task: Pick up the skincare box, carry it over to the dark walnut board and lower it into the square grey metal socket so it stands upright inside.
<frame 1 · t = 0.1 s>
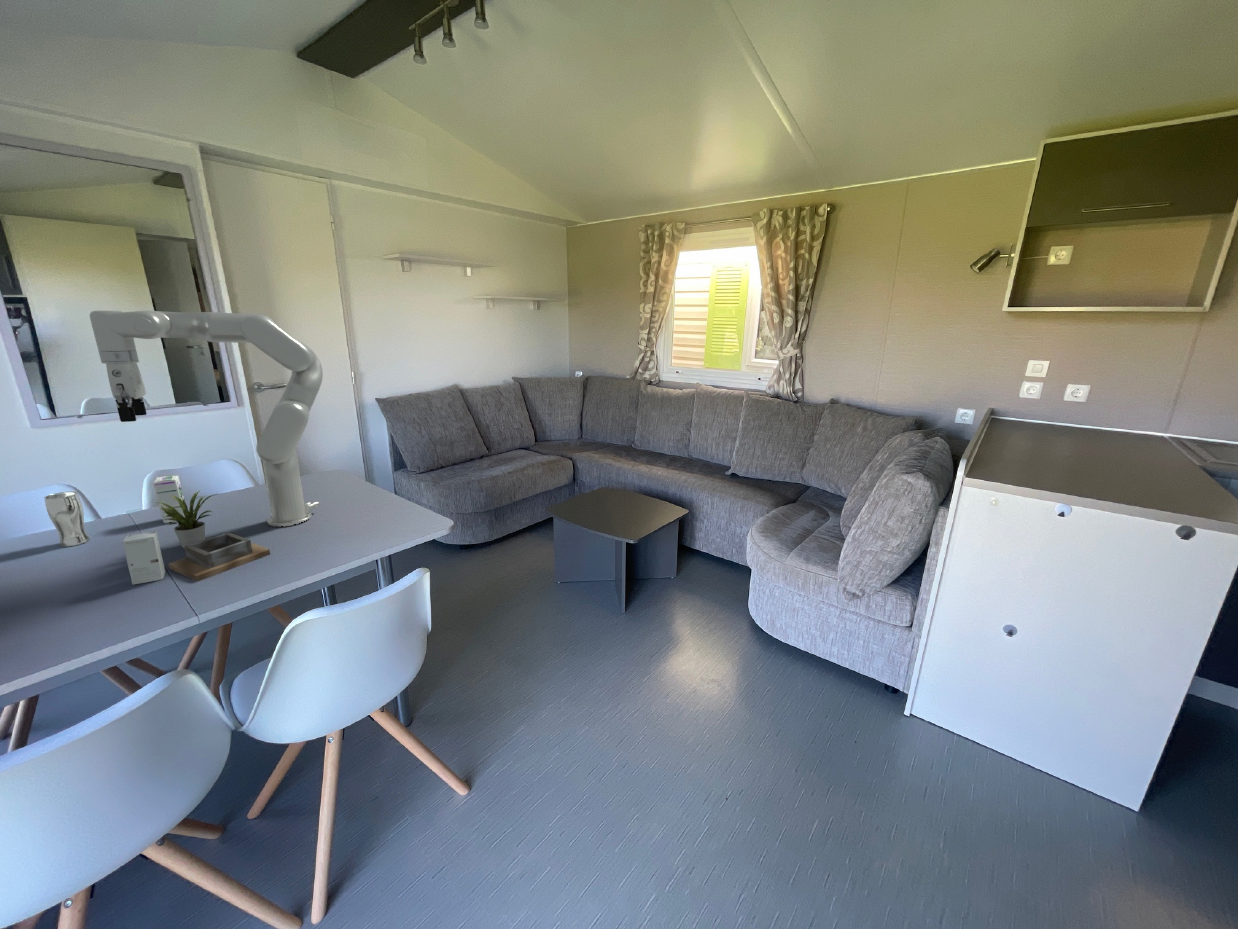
hand: (134, 418, 143), 37 cm above the table, tool pointing down, fingers open, 9 cm apart
house plant: (199, 544, 150), on the table
socket: (221, 561, 140), on the table
skincare box: (150, 579, 130), on the table
syrup box: (176, 519, 167), on the table
beer glass: (75, 543, 148), on the table
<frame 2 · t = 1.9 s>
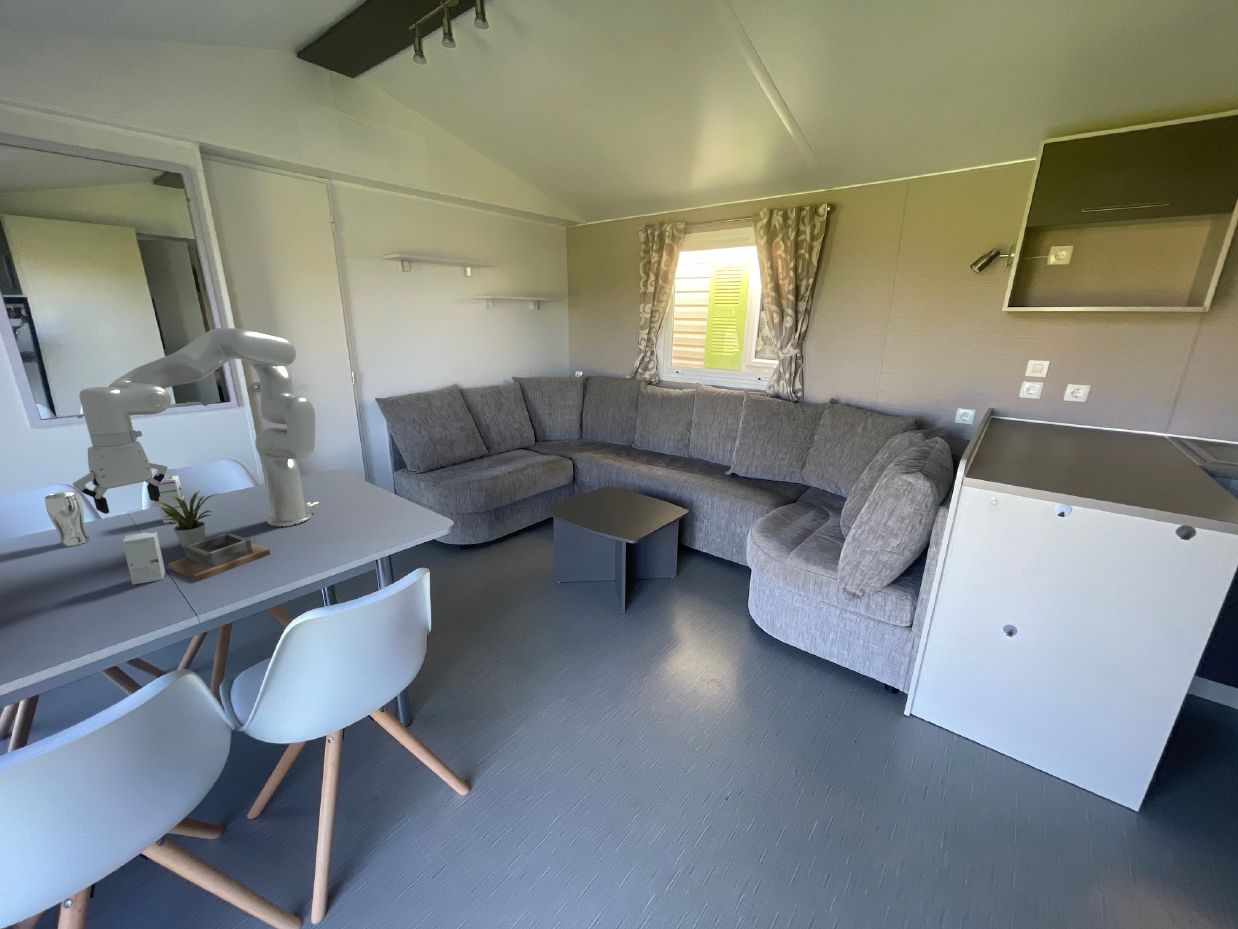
hand: (130, 506, 124), 20 cm above the table, tool pointing down, fingers open, 9 cm apart
nothing on the table moved.
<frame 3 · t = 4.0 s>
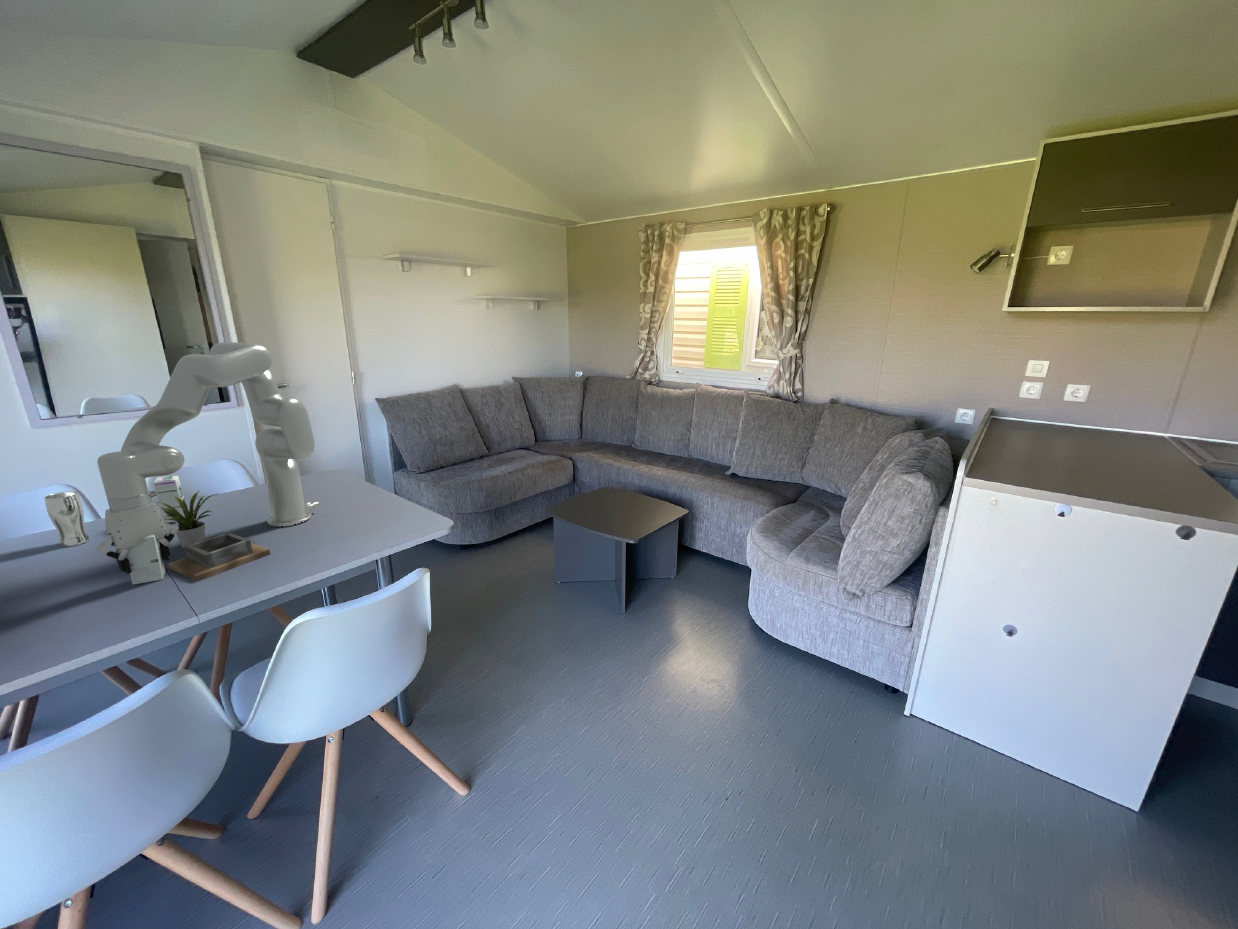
hand: (146, 565, 129), 4 cm above the table, tool pointing down, fingers closed on skincare box, 7 cm apart
skincare box: (150, 579, 130), on the table, touching gripper
everything else where it was.
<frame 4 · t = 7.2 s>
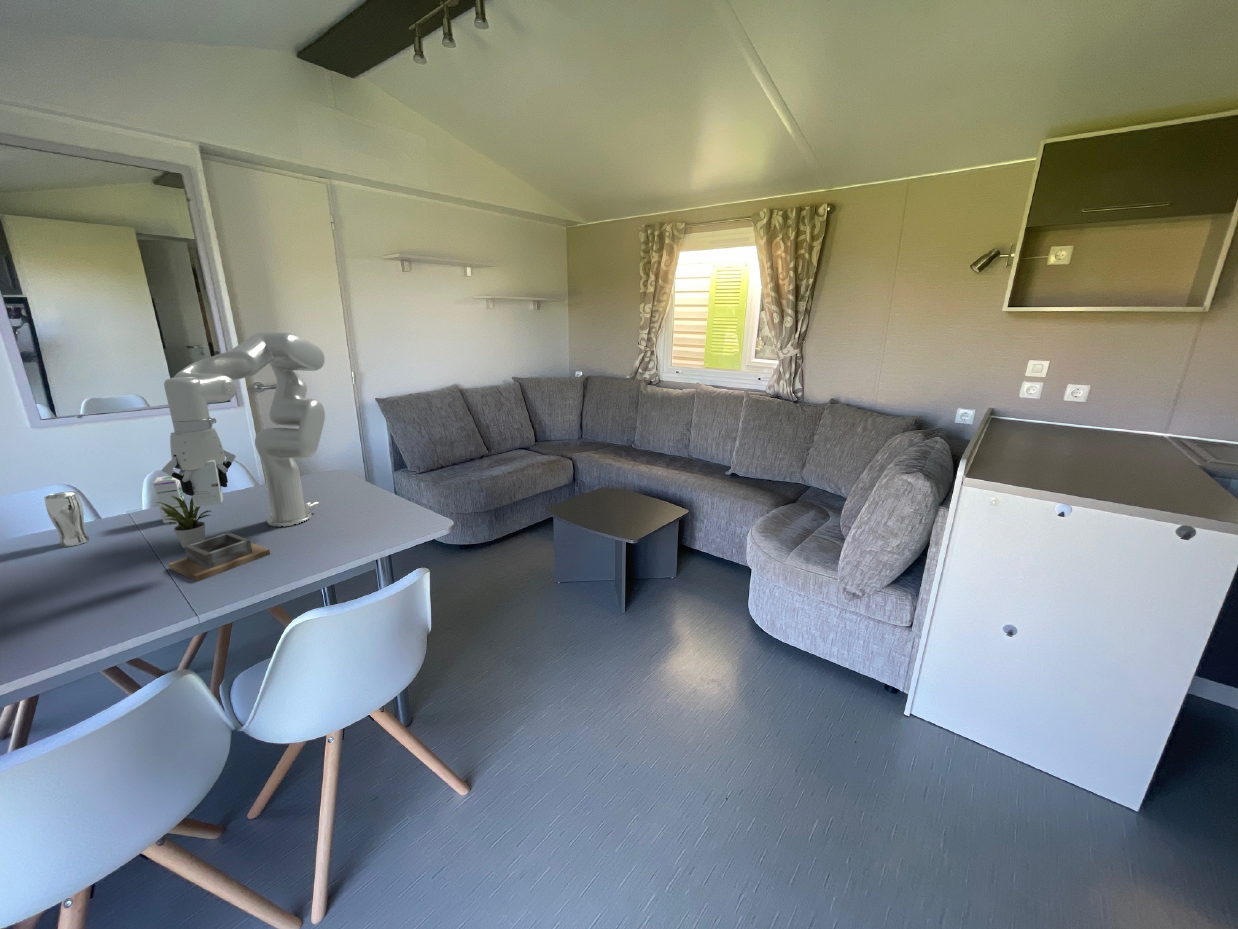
hand: (206, 489, 134), 21 cm above the table, tool pointing down, fingers closed on skincare box, 7 cm apart
skincare box: (209, 504, 135), point 17 cm above the table, touching gripper
everything else where it was.
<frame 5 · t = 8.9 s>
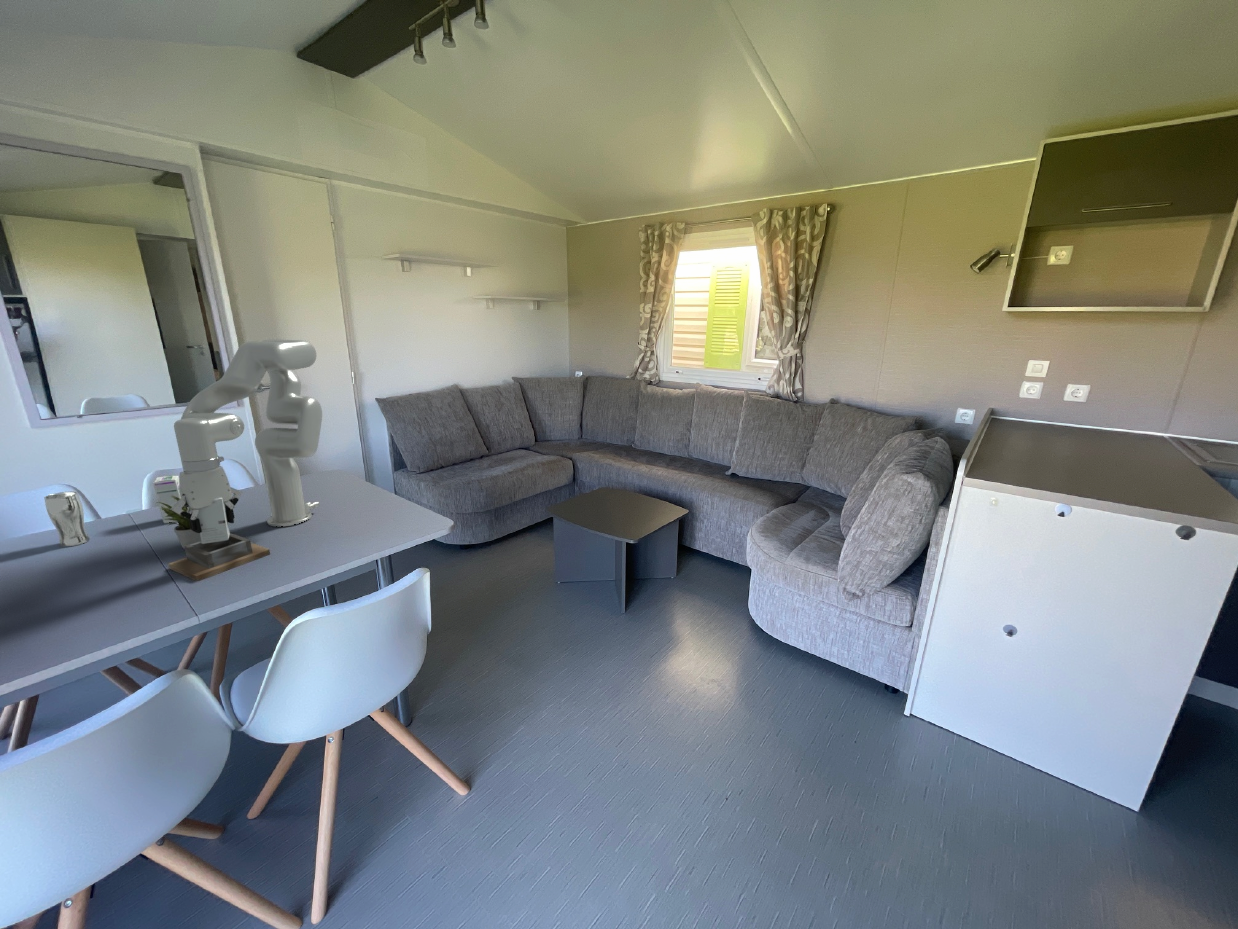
hand: (213, 526, 137), 11 cm above the table, tool pointing down, fingers closed on skincare box, 7 cm apart
skincare box: (216, 540, 138), point 7 cm above the table, touching gripper
everything else where it was.
when the fingers open (8 cm above the table, at t = 10.5 s): skincare box drops 2 cm, resting on socket.
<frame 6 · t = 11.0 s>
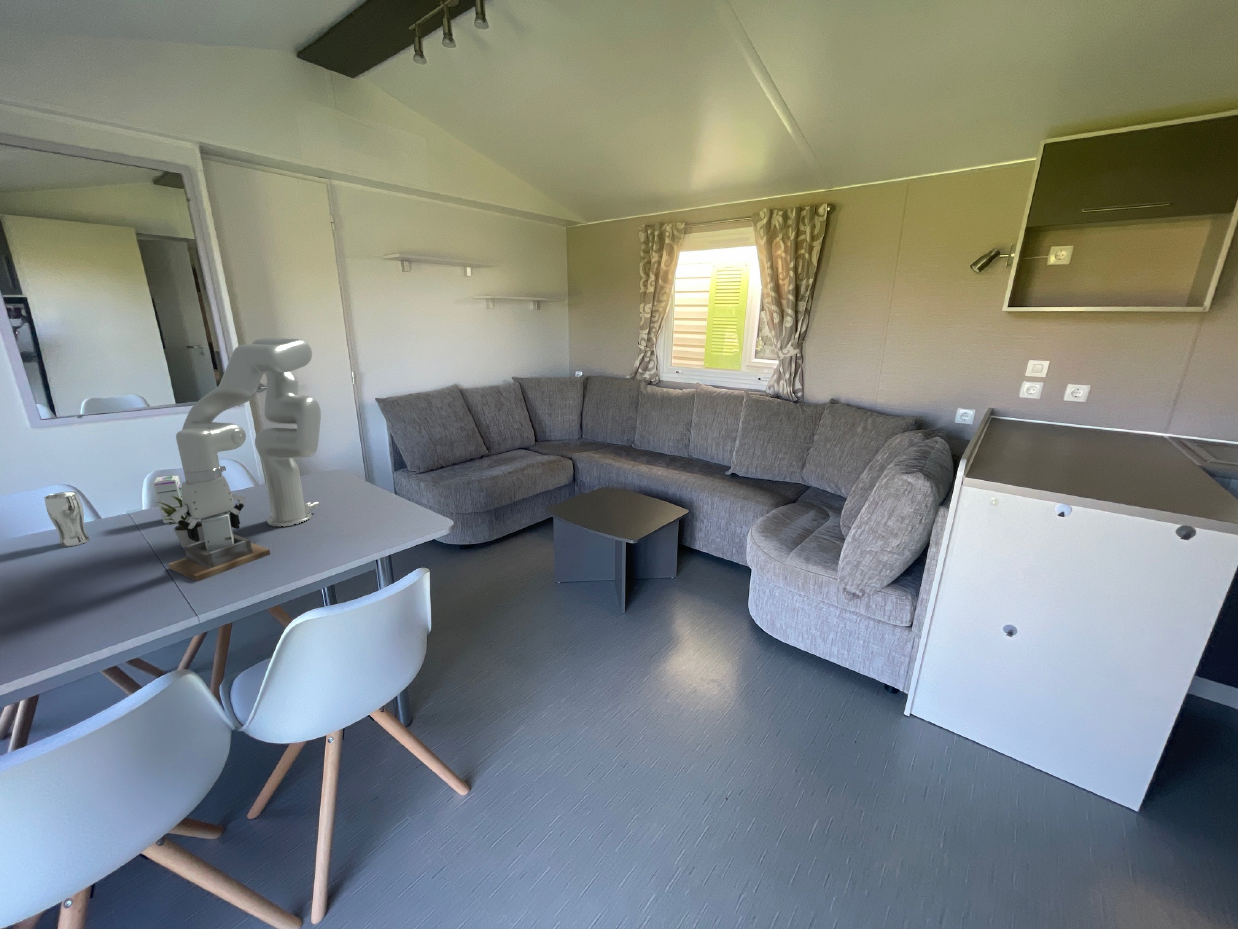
hand: (215, 533, 138), 8 cm above the table, tool pointing down, fingers open, 9 cm apart
skincare box: (223, 556, 140), point 1 cm above the table, touching socket
everything else where it was.
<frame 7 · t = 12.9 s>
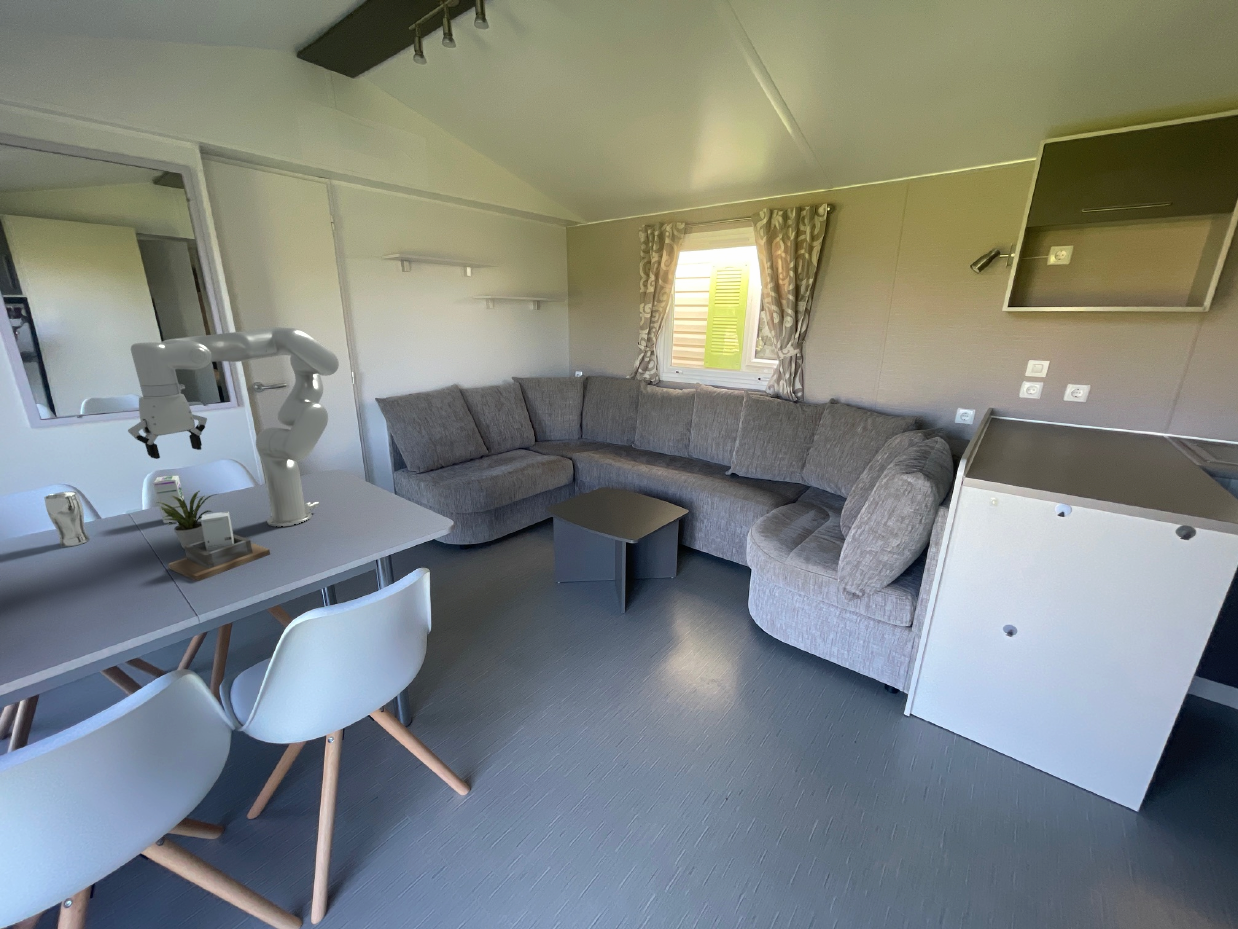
hand: (176, 453, 136), 30 cm above the table, tool pointing down, fingers open, 9 cm apart
nothing on the table moved.
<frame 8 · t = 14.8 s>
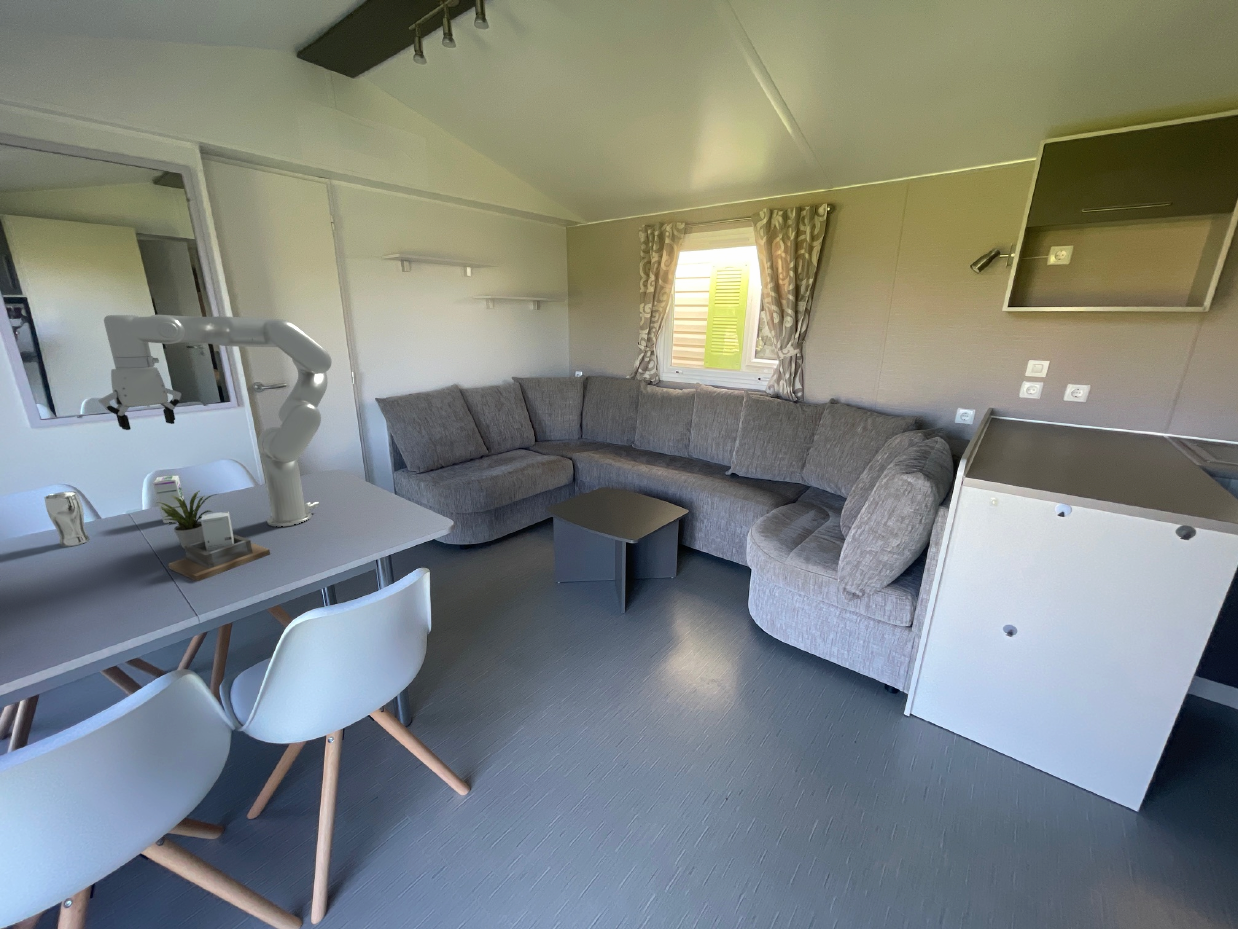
hand: (149, 426, 138), 36 cm above the table, tool pointing down, fingers open, 9 cm apart
nothing on the table moved.
at the end: skincare box 0.6 cm off-centre on the socket, point 1.3 cm above the socket's base; skincare box tilted 0°; the gripper is holding nothing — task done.
